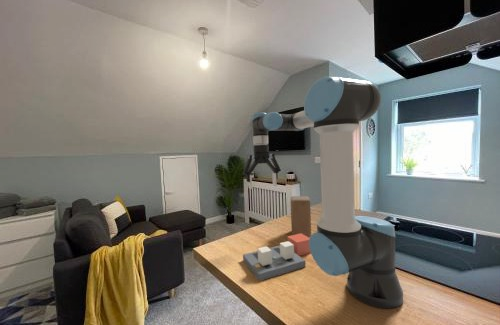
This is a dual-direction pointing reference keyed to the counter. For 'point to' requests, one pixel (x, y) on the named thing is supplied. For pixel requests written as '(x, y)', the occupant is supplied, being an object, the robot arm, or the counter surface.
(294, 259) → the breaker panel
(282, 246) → the block
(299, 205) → the wooden block
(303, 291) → the counter surface
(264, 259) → the block
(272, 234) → the counter surface
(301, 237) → the cap
